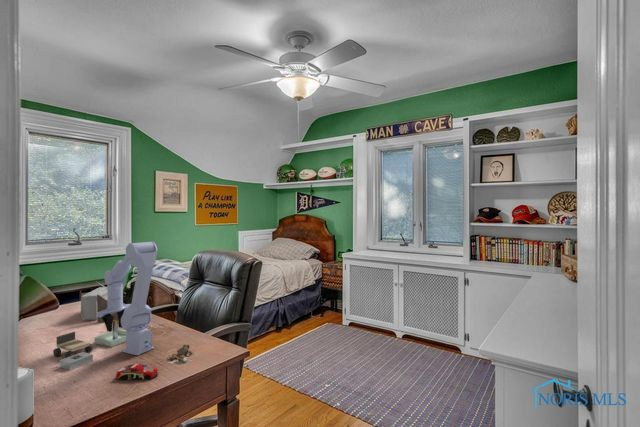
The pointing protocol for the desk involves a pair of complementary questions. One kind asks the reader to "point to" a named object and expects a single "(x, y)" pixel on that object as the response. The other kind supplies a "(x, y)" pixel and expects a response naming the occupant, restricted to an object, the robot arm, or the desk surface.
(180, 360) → the frog figurine
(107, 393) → the desk surface
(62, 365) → the plate
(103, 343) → the tray
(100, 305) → the wooden block
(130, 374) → the race car
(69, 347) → the ramp trolley
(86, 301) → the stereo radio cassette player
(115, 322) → the pin
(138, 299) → the robot arm
